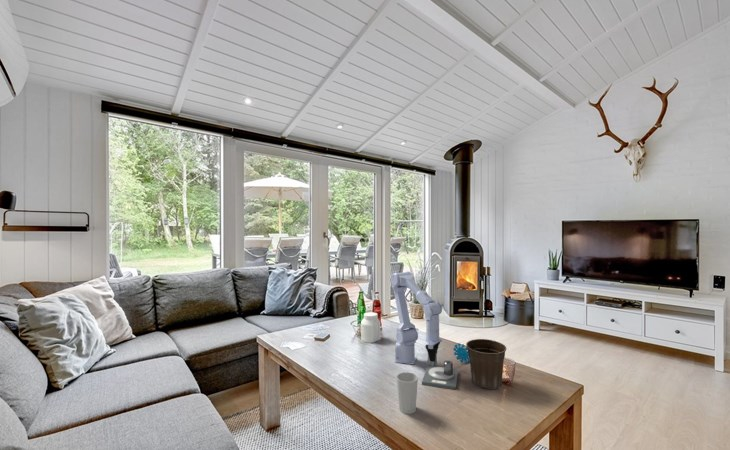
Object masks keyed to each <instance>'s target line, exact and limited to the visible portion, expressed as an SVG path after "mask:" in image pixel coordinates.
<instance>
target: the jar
mask: <svg viewBox="0 0 730 450" xmlns="http://www.w3.org/2000/svg"><path fill="white" fill-rule="evenodd" d="M378 316H379V315H378V313H377V312H371V311H369V312H365V313H363V317H362V318H363V319H362V320H361V322H360V326H361V327H360V330H361V331H360V333H361V335H360V336H361V337H360V339H361V341H362V342H364V343H367V344H369V343H370V344H373V343H375V342H377V341H380V340H381V338H382V337H381V320H380V319H379V318H378Z"/></svg>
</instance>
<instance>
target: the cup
mask: <svg viewBox="0 0 730 450" xmlns="http://www.w3.org/2000/svg"><path fill="white" fill-rule="evenodd" d="M418 381H419V377H418V375H417V374H415V373H413V372H410V371H404V372H403V371H402V372H399V373H397V375H396V389H397V397H398V398H397V399H398V400H397V401H398V410H399V412H400V413H403V414H406V415H410V414H414V413H415V412H416V410H417V395H418V394H417V393H418Z"/></svg>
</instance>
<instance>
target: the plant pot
mask: <svg viewBox="0 0 730 450" xmlns="http://www.w3.org/2000/svg"><path fill="white" fill-rule="evenodd" d="M465 346H466V347H467V348H468V350H467V351H468V354H469V357H468V358H469V359H470V362H469V366H470V374H471V375H470V376H471V382H472V383H473V384H474V385H475V386H476V387H478V388H481V389H483V388H485V389H486V390H496V389H497V390H498V389H499V388H501V387H502V384H503V372H504V371H503V370H504V359H505V358H506V352H507V346H506V345H505V344H503V343H502V342H500V341H496V340H494V339H493V340H492V339H488V338H476V339H471V340H468V341H467V342H466V344H465Z"/></svg>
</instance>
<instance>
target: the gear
mask: <svg viewBox="0 0 730 450" xmlns="http://www.w3.org/2000/svg"><path fill="white" fill-rule="evenodd" d="M465 346H466V344H465V345H464V344H461V343H460V342H459V343H457V344H455V345H454V347H453V349H452V350H453V351H454V352H453V355H454V356H456V360H459V359H460V360H459V362H460V363H464V364H467V363H470V358H469V354H468V348H467V346H466V347H465Z"/></svg>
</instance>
